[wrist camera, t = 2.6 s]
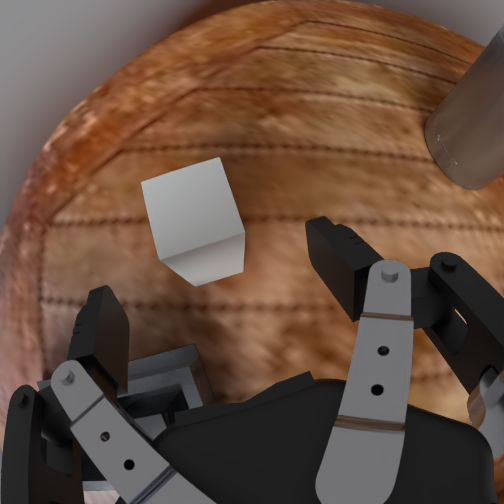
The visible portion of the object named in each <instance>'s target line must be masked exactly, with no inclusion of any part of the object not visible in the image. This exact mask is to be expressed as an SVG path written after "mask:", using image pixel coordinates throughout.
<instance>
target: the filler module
mask: <svg viewBox="0 0 504 504" xmlns="http://www.w3.org/2000/svg"><path fill="white" fill-rule="evenodd" d="M141 185H142V189H143V194H144V199H145V203H146V208H147V212H148V217H149V221H150V225H151V229H152V234H153V238H154V242H155V246H156V250H157V254H158V257H159V260H160V261H161V262H162V263H164V264H165V265H166V266H168V267H169V268H171V269H172V270H173V271H175V272H176V273H177V274H179V275H180V276H181V277H183V278H184V279H185V280H187V281H188V282H190V283H191V284H192V285H194V286H195V287H197V286H200V285H203V284H206V283H209V282H213V281H216V280H219V279H222V278H225V277H228V276H231V275H234V274H238V273H241V272H243V266H244V248H245V230H244V227H243V224H242V221H241V218H240V215H239V212H238V209H237V206H236V204H235V201H234V198H233V195H232V192H231V189H230V186H229V183H228V180H227V177H226V174H225V171H224V168H223V165H222V163H221V160H220V157H218V158H214V159H211V160H208V161H204V162H201V163H198V164H194V165H191V166H188V167H185V168H182V169H179V170H175V171H172V172H169V173H166V174H163V175H160V176H158V177H155V178H152V179H149V180H146V181H143V182H141Z"/></svg>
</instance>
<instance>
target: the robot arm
mask: <svg viewBox="0 0 504 504" xmlns="http://www.w3.org/2000/svg"><path fill="white" fill-rule="evenodd" d="M425 138H426V142H427V145H428V148H429V150H430V152H431V155H432V156H433V158H434V159H435V161H436V163H437V164H438V165H439V167H440V168H441V169H442V171H443V172H444V173H445V174H446V175H447V176H448V177H449V178H450V179H451V180H453V181H454V182H455V183H457V184H458V185H460V186H462V187H464V188H467V189H470V190H478V189H480V188H483V187H484V186H486V185H487V184H489V183H490V182H492V181H493V180H495V179H497V178H498V177H500V176H501V175H503V174H504V24H503V25H502V26H501V28H500V30H499V31H498V32H497V33H496V35H495V36H494V37H493V39H492V40H491V41H490V43H489V44H488V45H487V46H486V48H485V49H484V50H483V52H482V53H481V54H480V55H479V57H478V58H477V59H476V60H475V62H474V63H473V64H472V66H471V67H470V68H469V69H468V71H467V72H466V73H465V74H464V76H463V77H462V78H461V79H460V80H459V82H458V83H457V84H456V85H455V87H454V88H453V89H452V90H451V91H450V93H449V94H448V95H447V96H446V97H445V99H444V100H443V101H442V102H441V103H440V105H439V106H438V107H437V108H436V109H435V110H434V112H433V113H432V114H431V115H430V116H429V118H428V119H427V121H426V123H425ZM305 228H306V236H307V244H308V253H309V258H310V261H311V264H312V266H313V268H314V269H315V271H316V272H317V273H318V275H319V276H320V277H321V279H322V280H323V282H324V283H325V284H326V286H327V287H328V288H329V290H330V291H331V292H332V294H333V295H334V297H335V298H336V299H337V301H338V302H339V304H340V305H341V306H342V308H343V309H344V311H345V312H346V313H347V315H348V316H349V318H350V319H351V320H352V322H355V321H357V320H360V322H359V328H358V333H357V338H356V343H355V347H354V352H353V357H352V361H351V365H350V370H349V374H348V378H347V381H345V380H340V379H316V380H314V379H313V377H312V375H311V373H310V371H308V372H305V373H303V374H300V375H297V376H295V377H292V378H289V379H286V380H284V381H281V382H278V383H276V384H274V385H272V386H271V387H269V388H267V389H266V390H264V391H262V392H261V393H259V394H257V395H256V396H254V397H252V398H251V399H249V400H247V401H245V402H242V403H230V404H211V405H203V406H200V407H196V408H192V409H188V410H184V411H180V412H175V413H174V415H175V422H176V423H174V424H172V425H171V426H169V427H167V428H166V429H165V430H163V431H162V432H161V433H160V434H159V435H158V436H157V437H156V438H155V439H153V438H152V437H151V436H150V435H149V434H147V433H146V432H145V431H144V430H143V429H142V428H141V427H140V426H139V425H138V424H137V423H136V422H135V421H134V420H133V419H132V417H131V416H130V415H129V414H128V413H127V412H126V411H125V410H124V409H123V408H122V407H121V406H120V405H119V404H118V403H117V396H119V395H123V394H128V350H129V321H128V318H127V315H126V313H125V311H124V310H123V308H122V306H121V305H120V303H119V302H118V300H117V298H116V296H115V295H114V293H113V291H112V290H111V288H110V287H109V286H108V285H105V286H102V287H99V288H96V289H93V290H91V291H90V292H89V295H88V299H87V303H86V305H84V306H83V307H82V309H81V310H80V312H79V313H78V315H77V317H76V321H75V327H74V330H73V336H72V339H71V343H70V348H69V353H68V358H67V361H66V362H64V363H62V364H61V365H60V366H59V367H58V368H57V369H56V370H55V371H54V373H53V375H52V378H51V385H49V386H47V387H45V388H44V389H42V390H40V391H38V392H37V391H36V390H35V389H34V388H33V387H32V386H30V385H23V386H21V387H19V388H18V389H17V390H16V391H15V392H14V393H13V395H12V397H11V399H10V403H9V409H8V415H7V421H6V428H5V436H4V445H3V456H2V469H1V504H85V502H84V493H83V482H82V467H81V446H82V447H83V449H84V450H85V452H86V453H87V454H88V456H89V457H90V458H91V460H92V461H93V463H94V464H95V465H96V467H97V468H98V469H99V470H100V472H101V473H102V474H103V476H104V477H105V478H106V479H107V481H108V482H109V483H110V484H111V485H112V487H113V488H114V489H115V490H116V491H117V493H118V494H119V495H120V497H119V498H118V500H117V502H116V503H115V504H500V503H499V501H498V498H497V494H496V489H495V483H494V459H495V458H497V457H498V456H499V455H500V454H501V453H503V452H504V298H503V297H502V296H501V295H500V294H499V293H498V292H497V291H496V290H495V289H494V288H493V287H492V286H491V285H490V284H489V283H488V282H487V281H486V280H485V279H484V278H483V277H482V276H481V275H480V274H479V273H478V272H477V271H476V270H474V269H473V268H472V267H471V266H470V265H469V264H468V263H467V262H466V261H465V260H463V259H462V258H461V257H460V256H458V255H456V254H453V253H450V252H440V253H437V254H435V255H434V256H432V258H431V260H430V266H429V267H424V268H417V269H409V268H408V267H407V266H406V265H405V264H403V263H401V262H399V261H396V260H384V259H383V258H382V257H381V256H380V255H379V254H378V253H377V252H376V251H375V250H374V249H373V248H372V247H371V246H370V245H369V244H367V243H366V242H364V240H363V239H362V238H361V237H360V236H358V234H357V233H356V232H354V231H353V230H352V229H351V228H349V227H347V226H344V225H342V224H337V225H334V224H333V223H332V222H331V221H330V220H329V219H328V218H327V217H325V216H321V217H318V218H314V219H311V220H308V221H306V223H305ZM455 309H456V310H457V311H458V312H459V313H460V315H461V316H462V317H463V318H464V319H465V321H466V323H467V324H466V323H465V322H464V321H463V319H462V318H461V317H460V316H459V315H458V314H457V313H456V311H455ZM418 328H422V329H423V330H424V332H425V333H426V334H427V336H428V337H429V338H430V340H431V341H432V342H433V344H434V345H435V346H436V348H437V349H438V351H439V352H440V353H441V355H442V356H443V358H444V359H445V360H446V362H447V363H448V365H449V366H450V367H451V369H452V370H453V372H454V373H455V375H456V376H457V378H458V379H459V381H460V382H461V383H462V385H463V386H464V388H465V389H466V391H467V392H468V394H469V395H470V396H469V398H468V401H467V409H468V413H469V419H470V421H471V422H472V426H471V425H469V424H466V423H463V422H460V421H457V420H453V419H450V418H447V417H444V416H441V415H438V414H435V413H432V412H429V411H427V410H424V409H421V408H418V407H415V406H412V405H410V404H407V402H408V394H409V385H410V375H411V363H412V349H413V329H418ZM41 436H42V437H43V438H45V439H46V440H47V465H46V464H45V463H44V461H43V460H42V458H41V454H40V447H41Z"/></svg>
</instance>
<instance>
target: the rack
mask: <svg viewBox="0 0 504 504" xmlns="http://www.w3.org/2000/svg"><path fill="white" fill-rule="evenodd" d="M37 384H38V387H39V390H42V389H44V388H45V387H47V386H49V385H51V379H48V380H42V381H38V382H37ZM117 403H118V404H119V405H120V406H121V407H122V408H123V409H124V410H125V411H126V412H127V413H128V414H129V415H130V416H131V417H132V419H133V420H134V421H135V422H136V423H137V424H138V425H139V426H140V427H141V428H142V429H143V430H144V431H145V432H146V433H147V434H149V435H150V436H151V437H152V438H153V439H155V438H156V437H157V436H158V435H159V434H160V433H161V432H162V431H163V430H165V429H166V428H167V427H169V426H171V425H172V424H174V423H176V422H175V415H174V413H175V412H180V411H184V410H188V409H192V408H196V407H200V406H203V405H211V404H217V403H216V401H215V398H214V395H213V393H212V390H211V387H210V385H209V382H208V379H207V376H206V374H205V371H204V368H203V365H202V362H201V359H200V356H199V354H198V351H197V348H196V345H195V343H194V344H191V345H187V346H184V347H180V348H177V349H173V350H170V351H166V352H163V353H159V354H155V355H152V356H148V357H144V358H140V359H136V360H132V361H128V394H123V395H119V396H117ZM40 454H41V458H42V460H43V461H44V463H45V464H46V465H47V440H46V439H45V438H43V437H42V436H41V447H40ZM81 467H82V482H83V491H108V490H115V489H114V488H113V487H112V485H111V484H110V483H109V482H108V481H107V479H106V478H105V477H104V476H103V474H102V473H101V472H100V470H99V469H98V468H97V467H96V465H95V464H94V463H93V461H92V460H91V458H90V457H89V456H88V454H87V453H86V452H85V450H84V449H83V447H82V446H81Z"/></svg>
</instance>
